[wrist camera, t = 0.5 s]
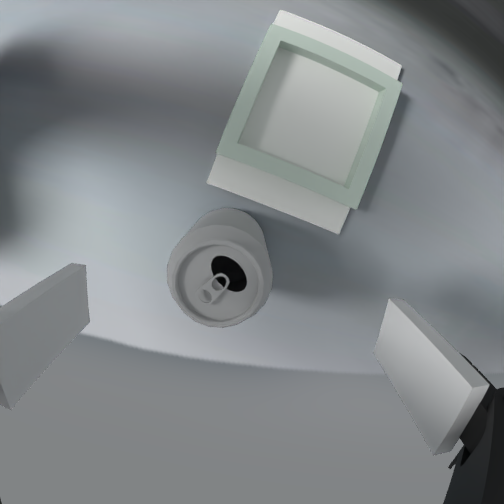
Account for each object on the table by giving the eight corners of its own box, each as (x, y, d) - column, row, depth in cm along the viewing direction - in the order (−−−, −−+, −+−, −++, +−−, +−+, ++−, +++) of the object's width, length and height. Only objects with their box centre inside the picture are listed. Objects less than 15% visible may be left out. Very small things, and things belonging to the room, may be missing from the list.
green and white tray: (207, 182, 31) (203, 184, 28) (279, 12, 26) (281, 1, 23) (337, 233, 32) (344, 238, 30) (399, 67, 27) (409, 61, 25)
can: (280, 247, 32) (298, 292, 21) (224, 293, 33) (214, 355, 22) (231, 190, 31) (221, 204, 19) (175, 240, 32) (138, 280, 20)
